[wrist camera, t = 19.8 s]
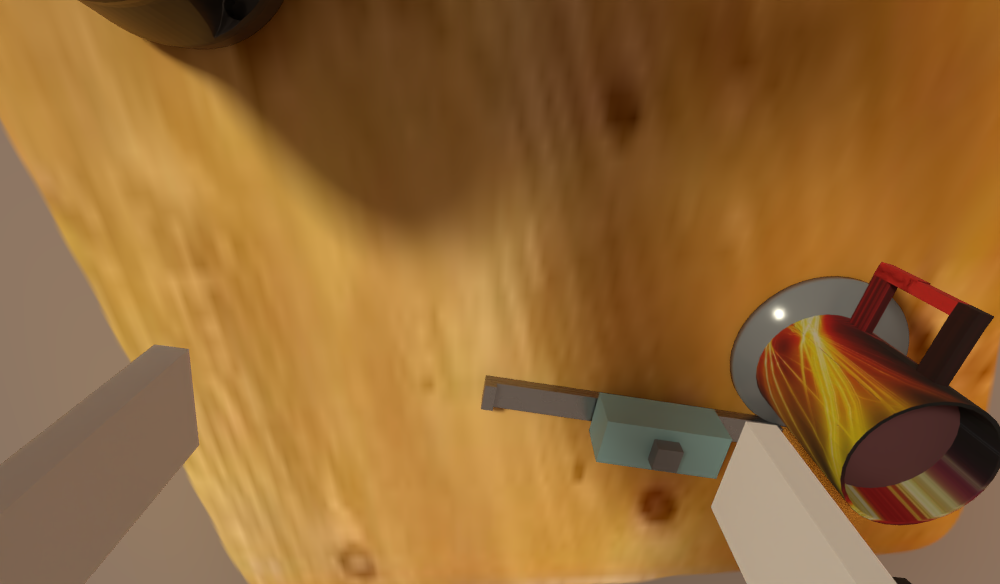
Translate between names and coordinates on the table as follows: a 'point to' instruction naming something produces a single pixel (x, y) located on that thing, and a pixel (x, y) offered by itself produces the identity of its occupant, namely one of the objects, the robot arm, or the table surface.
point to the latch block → (658, 436)
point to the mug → (885, 406)
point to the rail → (574, 402)
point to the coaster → (795, 306)
